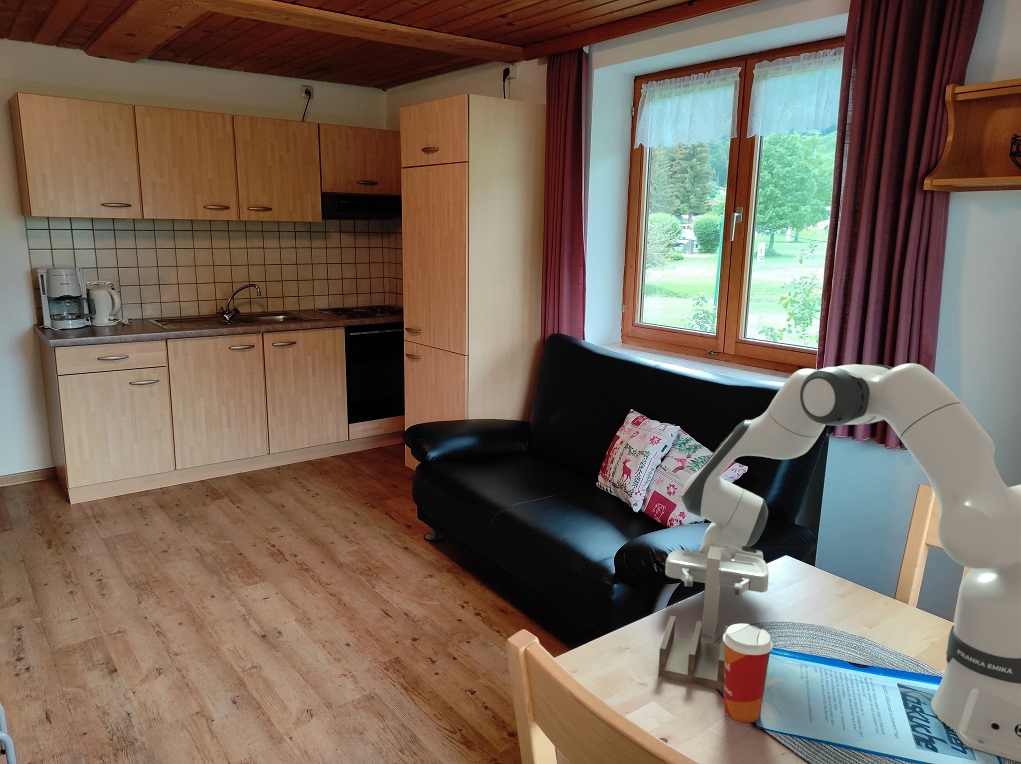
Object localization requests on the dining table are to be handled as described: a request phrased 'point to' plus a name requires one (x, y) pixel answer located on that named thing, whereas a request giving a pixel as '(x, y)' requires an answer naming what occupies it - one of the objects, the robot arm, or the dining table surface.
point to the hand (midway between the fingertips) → (712, 587)
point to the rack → (691, 658)
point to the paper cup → (745, 671)
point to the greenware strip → (712, 590)
